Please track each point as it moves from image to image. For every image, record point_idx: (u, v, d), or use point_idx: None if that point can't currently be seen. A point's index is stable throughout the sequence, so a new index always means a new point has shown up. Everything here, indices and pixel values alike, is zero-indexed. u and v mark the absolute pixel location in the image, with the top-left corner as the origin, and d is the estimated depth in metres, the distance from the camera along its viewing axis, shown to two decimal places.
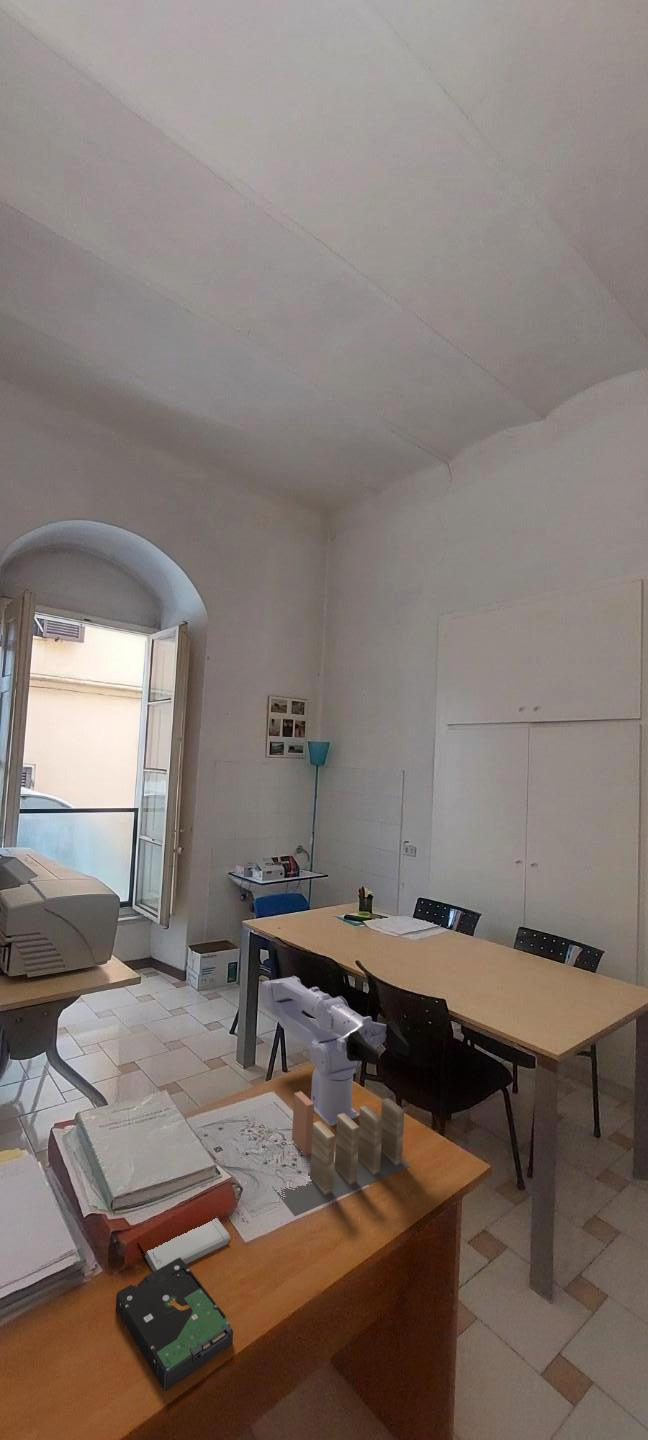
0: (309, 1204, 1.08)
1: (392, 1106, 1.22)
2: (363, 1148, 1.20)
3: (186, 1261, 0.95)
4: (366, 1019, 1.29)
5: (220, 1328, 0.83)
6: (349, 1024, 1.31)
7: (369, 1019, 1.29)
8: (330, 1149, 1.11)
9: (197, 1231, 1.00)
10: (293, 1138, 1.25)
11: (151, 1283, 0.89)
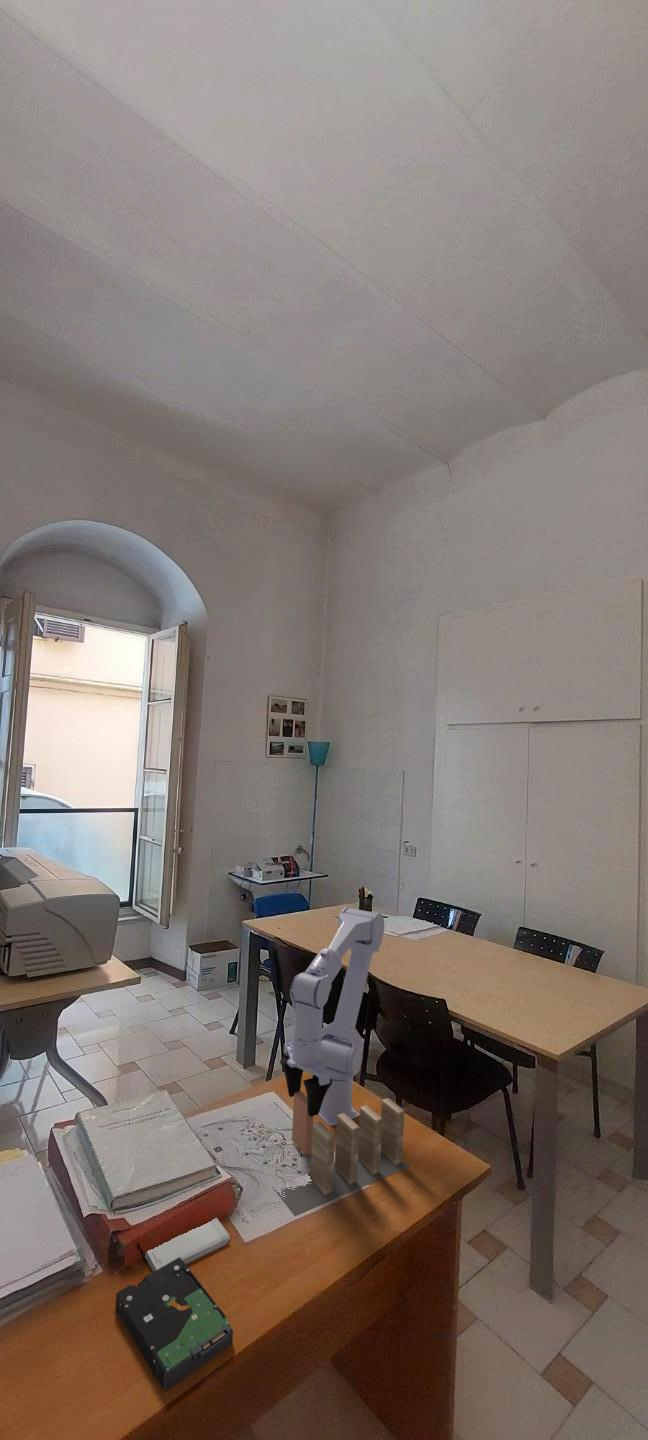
0: (309, 1204, 1.08)
1: (392, 1106, 1.22)
2: (363, 1148, 1.20)
3: (186, 1261, 0.95)
4: None
5: (220, 1328, 0.83)
6: None
7: None
8: (330, 1149, 1.11)
9: (197, 1231, 1.00)
10: (293, 1138, 1.25)
11: (150, 1283, 0.89)
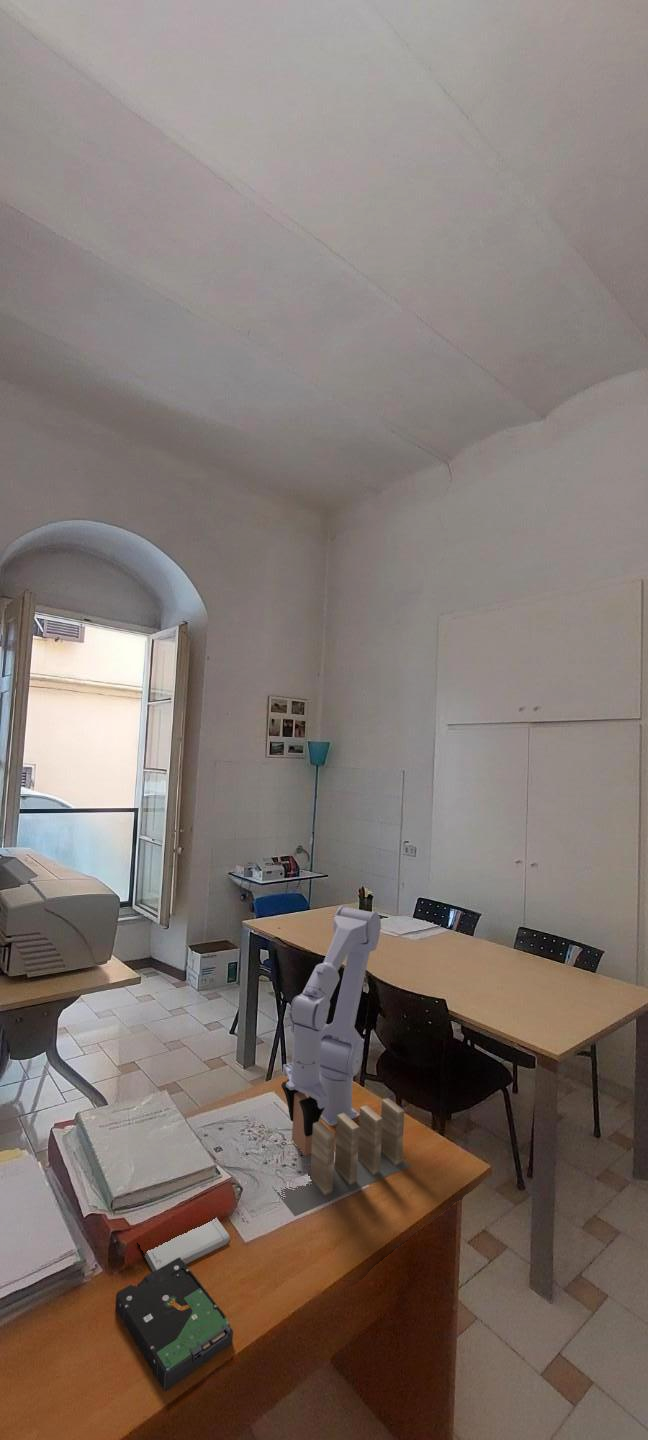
0: (309, 1204, 1.08)
1: (392, 1106, 1.22)
2: (363, 1148, 1.20)
3: (186, 1261, 0.95)
4: None
5: (220, 1328, 0.83)
6: None
7: None
8: (330, 1149, 1.11)
9: (196, 1231, 1.00)
10: (293, 1138, 1.25)
11: (150, 1283, 0.89)
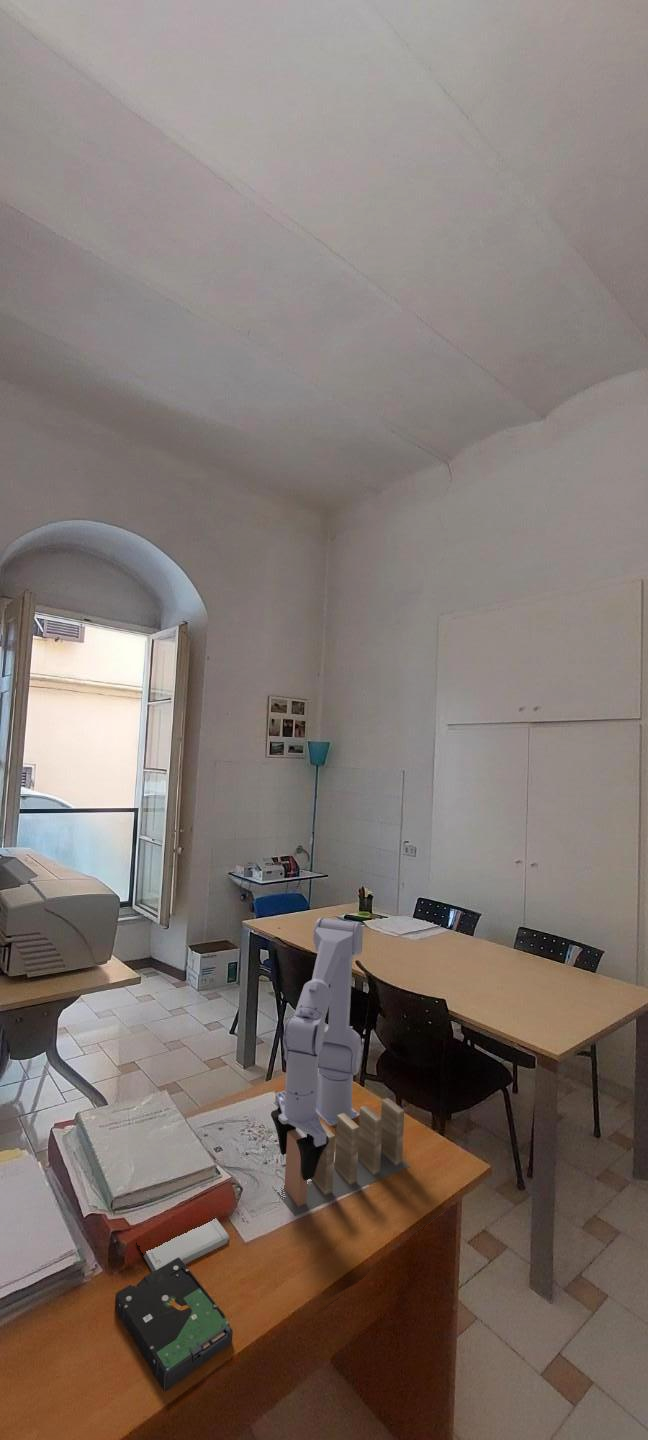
0: (309, 1204, 1.08)
1: (392, 1106, 1.22)
2: (363, 1148, 1.20)
3: (185, 1261, 0.95)
4: None
5: (219, 1328, 0.83)
6: None
7: None
8: (330, 1149, 1.11)
9: (196, 1231, 1.00)
10: (286, 1183, 1.11)
11: (150, 1283, 0.89)
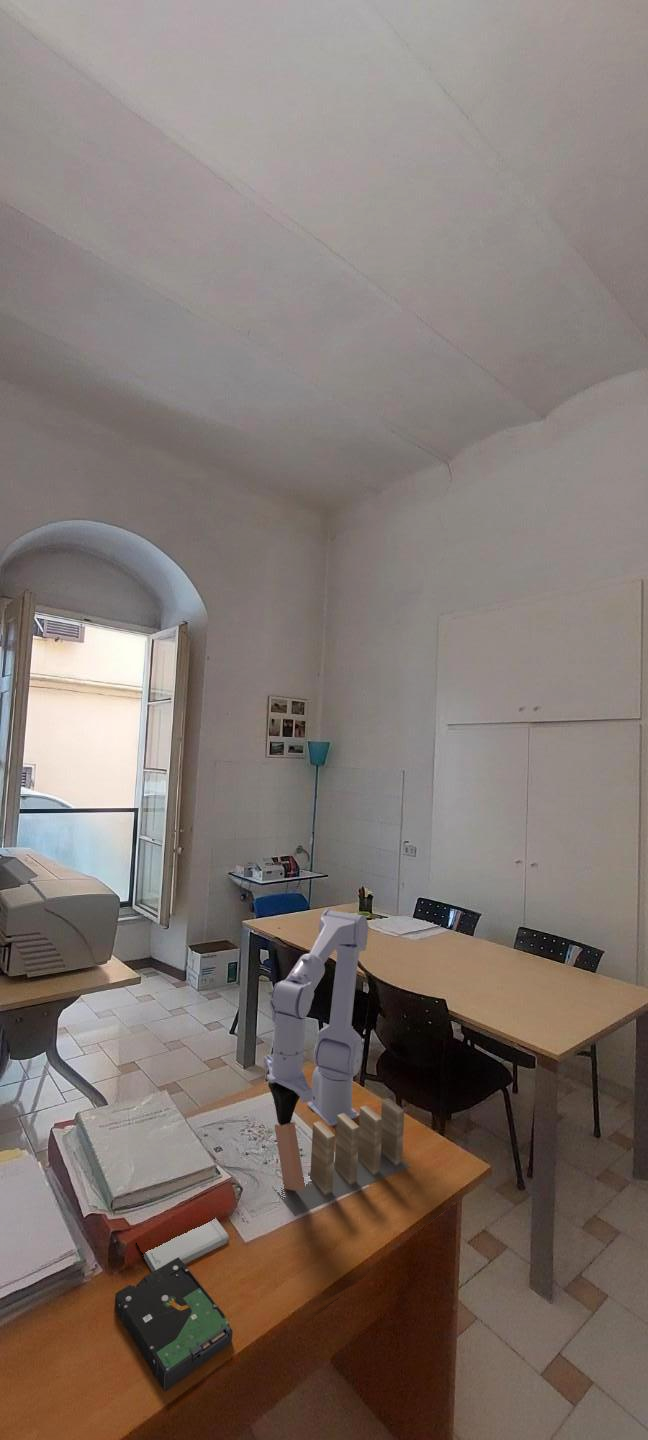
0: (309, 1204, 1.08)
1: (392, 1106, 1.22)
2: (363, 1148, 1.20)
3: (185, 1261, 0.95)
4: None
5: (219, 1328, 0.83)
6: None
7: None
8: (330, 1149, 1.11)
9: (195, 1231, 1.00)
10: (284, 1180, 1.12)
11: (149, 1283, 0.89)
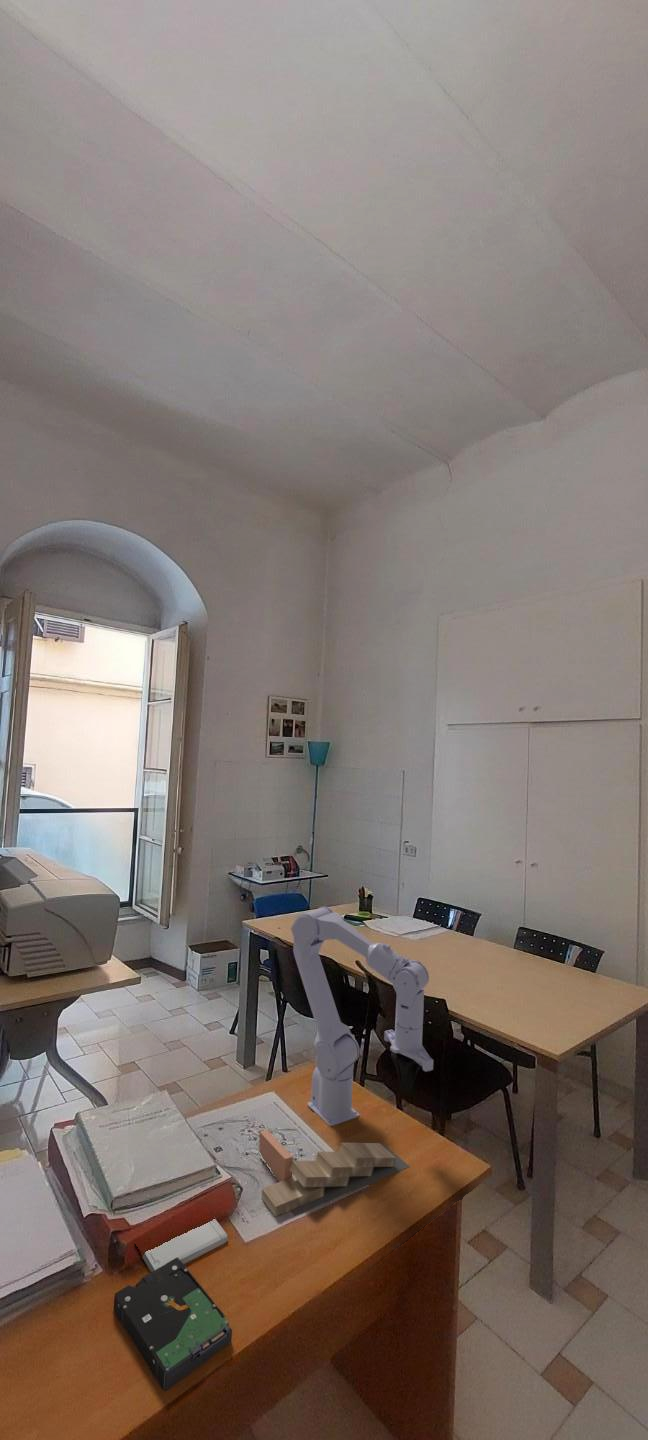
0: (309, 1204, 1.08)
1: (348, 1157, 1.16)
2: None
3: (184, 1261, 0.95)
4: None
5: (219, 1327, 0.83)
6: None
7: None
8: (286, 1207, 1.06)
9: (194, 1231, 1.00)
10: (280, 1180, 1.13)
11: (149, 1283, 0.89)
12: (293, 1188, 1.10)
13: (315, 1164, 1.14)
